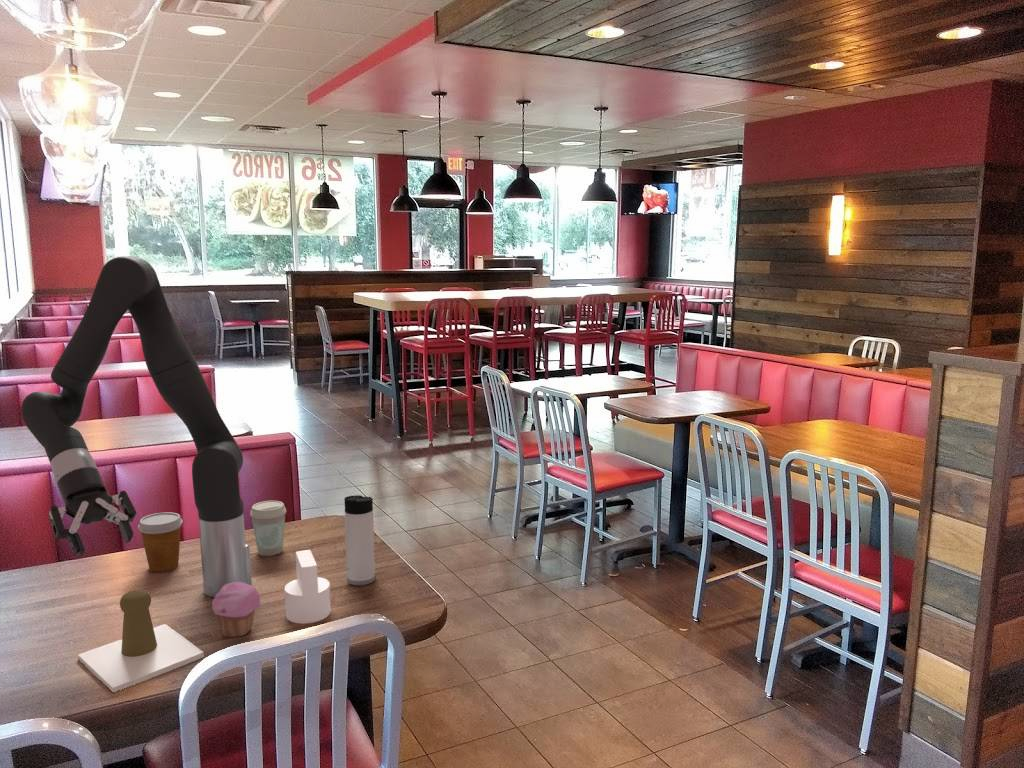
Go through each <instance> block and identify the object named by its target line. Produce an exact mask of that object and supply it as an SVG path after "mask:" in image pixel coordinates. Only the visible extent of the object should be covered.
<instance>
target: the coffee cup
mask: <svg viewBox="0 0 1024 768" xmlns="http://www.w3.org/2000/svg"><path fill="white" fill-rule="evenodd" d="M249 511H250V514H249V516H250V517H251V521H252V526H253V533H254V537H255V544H256V548H257V553H258V555H260V556H261V557H262V556H263V557H270V556H276V554H277V555H279V554H281V553H282V552H283V549H284V535H285V534H284V533H285V522H286V521H285V520H286V514H287V508H286V507H285V504H284V503H283V502H282V501H280V500H264V501H259V502H257V503H254V504H253V505H252V506H251V509H250V510H249Z"/></svg>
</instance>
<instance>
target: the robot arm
mask: <svg viewBox="0 0 1024 768" xmlns="http://www.w3.org/2000/svg"><path fill="white" fill-rule="evenodd" d="M163 292H164V291H163V289H162V286H161V284H160V280H159V278H158V275H157V272H156V271H155V268H154V267H153V266H152V265H151V264H150V263H149V261H147V260H145V259H143V258H141V257H138V256H133V255H129V256H126V255H123V256H116V257H114V258H111V259H110V260H108V261H106V263H105V264H104V265H103V266H102V268H101V271H100V274H99V277H98V278H97V281H96V284H95V287H94V289H93V293H92V296H91V299H90V300H89V303H88V306H87V308H86V310H85V312H84V314H83V316H82V318H81V320H80V322H79V324H78V326H77V327H76V330H75V331H74V333H73V335H72V336H71V338H70V340H69V341H68V343H67V345H66V347H65V348H64V350H63V351H62V352H61V355H60V357H59V358H58V360H57V361H56V363H55V365H54V367H53V368H52V370H51V374H50V379H51V381H52V382H53V383H54V384H56V385H57V386H59V387H60V388H61V389H62V390H61V392H60V393H59V394H57V393H52V392H45V391H34V392H31V393H29V394H27V395H26V396H25V397H24V399H23V401H21V406H20V413H21V418H22V421H23V423H24V425H25V426H26V428H27V430H29V431H30V433H31V434H32V435H33V436H34V438H35V439H36V440H37V442H38V443H39V444H40V445H41V446H42V447H43V448H44V450H45V454H46V456H47V458H48V461H49V463H50V466H51V471H52V472H51V473H52V475H53V478H54V479H53V480H54V482H55V484H56V485H57V488H58V491H59V493H60V495H61V496H60V497H61V498H62V502H63V504H64V506H61V507H60V506H59V507H58V506H57V505H53V506H51V507H50V508H49V509H50V510H49V511H48V518H49V521H50V526H51V528H52V532H53V535H54V539H56V540H57V541H58V540H59V541H60V540H61V539H66V540H68V542H69V545H70V547H71V550H72V553H74V554H76V555H78V557H79V556H83V555H84V553H85V546H84V544H83V541H82V540H81V537H80V536H81V535H80V534H79V533H78V532H77V531H78V529H80V525H81V524H85V525H89V524H91V523H94V522H101V521H103V520H105V521H108V523H114V524H116V525H118V526H119V527H118V528H119V530H120V533H121V536H122V538H123V541H124V542H125V543H126V544H128V543H130V542H131V540H133V539H132V538H133V536H134V531H133V529H132V527H131V524H130V523H132V522H133V521H134V520H135V518H136V515H137V510H136V509H135V507H134V504H133V502H132V500H131V499H130V497H129V495H128V493H127V491H126V490H121V491H120V492H119V493H117V494H114V495H111V494H109V493H108V491H107V488H106V485H105V483H104V481H103V478H102V476H101V474H100V471H99V469H98V467H97V464H96V461H95V460H94V458H93V456H92V455H91V453H90V450H89V448H88V446H87V444H86V441H85V439H84V437H83V435H82V433H81V432H80V430H78V429H76V428H74V427H72V426H74V425H75V424H76V423H77V422H78V420H79V418H80V417H81V414H82V410H83V406H84V402H85V398H86V393H87V390H88V387H89V384H90V382H91V381H92V380H93V377H94V376H95V375H96V373H97V371H98V370H99V367H100V366H101V364H102V363H103V359H104V358H105V356H106V352H107V350H108V347H109V344H110V341H111V339H112V337H113V334H114V331H115V329H116V328H117V325H118V324H119V322H120V321H121V319H122V318H123V316H124V315H125V314H126V313H127V311H128V312H129V313H130V315H131V317H132V319H133V321H134V324H135V325H136V327H137V331H138V333H139V338H140V343H141V349H142V354H143V357H144V362H145V365H146V368H147V370H148V372H149V375H150V376H151V379H152V381H153V382H154V385H155V387H156V389H157V392H158V393H159V394H160V396H161V398H162V400H163V401H164V402H165V403H166V404H167V406H168V407H169V408H170V409H171V410H172V411H173V412H174V413H175V414H176V415H177V417H179V419H181V421H182V423H183V424H184V425H185V427H186V428H187V430H188V431H189V434H190V436H191V439H192V441H193V443H194V444H195V445H194V446H195V448H196V451H197V453H196V455H195V456H194V458H193V461H192V466H191V477H192V487H193V496H194V497H193V499H194V504H195V507H196V509H197V515H198V516H197V517H198V528H199V541H200V543H199V544H200V555H201V556H200V557H201V569H202V586H203V594H204V595H205V596H208V597H210V598H215V595H216V594H217V593H218V592H219V591H220V589H221V588H222V587H223V586H224V585H226V584H228V583H232V582H242V583H245V584H248V585H251V586H253V583H252V582H253V580H252V566H251V565H252V564H251V563H252V561H251V549H250V545H249V544H247V543H246V530H245V515H244V513H245V512H244V511H245V510H244V501H243V499H242V498H241V495H240V494H241V493H240V483H239V481H240V480H239V473H240V471H241V470H242V467H243V464H244V457H243V456H244V455H243V451H242V449H241V448H240V446H239V445H238V442H237V441H236V439H235V438H234V436H233V435H232V433H231V431H230V429H229V428H228V427H227V425H226V423H225V422H224V420H223V418H222V417H221V414H220V413H219V410H218V408H217V406H216V403H215V399H214V398H213V396H212V394H211V392H210V389H209V387H208V385H207V383H206V381H205V377H204V376H203V373H202V371H201V369H200V367H199V364H198V362H197V361H196V360H197V359H195V357H194V355H193V353H192V350H191V349H190V347H189V345H188V343H187V341H186V339H185V337H184V335H183V333H182V331H181V330H180V328H179V326H178V324H177V322H176V321H175V319H174V316H173V315H172V313H171V311H170V309H169V306H168V302H167V300H166V297H165V295H164V293H163ZM113 503H115V504H116V505H117V506H120V508H121V510H122V512H121V511H120V510H119V509H118V508H117V507H115V506H114V505H112V504H113ZM64 514H65V515H66V516H69V517H71V518H72V519H73V520H72V522H71V525H70V527H69V528H65V526H64V524H63V516H64Z"/></svg>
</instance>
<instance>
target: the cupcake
mask: <svg viewBox="0 0 1024 768" xmlns="http://www.w3.org/2000/svg"><path fill="white" fill-rule="evenodd" d="M260 599H261V597H260V594H259V591H258V590H257V588H256V586H253V585H252V586H251V585H248V584H245V583H242V582H232V583H228V584H226V585H224V586H223V587H222V588H221V589H220V591H219V592H218V593H217V594H216V595H215V597H213V599H212V602H211V603H212V604H211V610H212V612H213V613H214V614H215V615H216V617H217V619H218V623H219V631H220V633H221V635H222V636H224V637H226V638H234V637H235V638H237V637H243V636H244V635H246V634H247V633H248V632H249V631H250V630H251V629H252V628H253V624H254V616H255V612H256V609H257V608H259V606H260V604H261V600H260Z"/></svg>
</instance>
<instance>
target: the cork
mask: <svg viewBox="0 0 1024 768" xmlns="http://www.w3.org/2000/svg"><path fill="white" fill-rule="evenodd" d="M151 603H152V597H151V594H150V593H149V591H147V590H145V589H134V590H130V591H127V592H126V593H124V594H123V595H122V596H121V598H120V600H119V607H120V610H121V611H122V612H123V620H122V621H123V623H122V638H121V639H122V649H121V652H122V654H123V655H125V656H129V657H135V656H141V655H145V654H147V653H150V652H152V651H153V650H154V649H155V648H156V647H157V642H156V637H155V633H154V629H153V628H154V626H153V620H152V615H151V613H150V609H149V608H150V606H151Z"/></svg>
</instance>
